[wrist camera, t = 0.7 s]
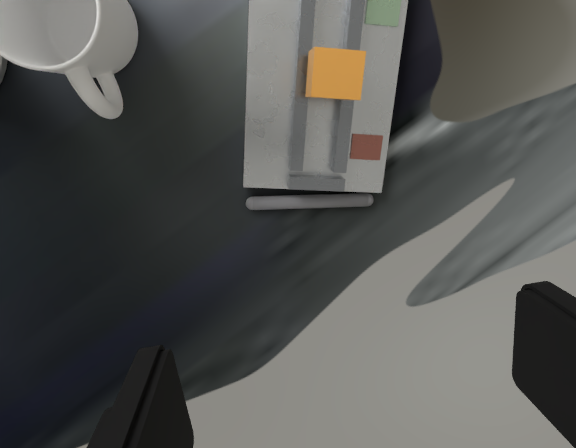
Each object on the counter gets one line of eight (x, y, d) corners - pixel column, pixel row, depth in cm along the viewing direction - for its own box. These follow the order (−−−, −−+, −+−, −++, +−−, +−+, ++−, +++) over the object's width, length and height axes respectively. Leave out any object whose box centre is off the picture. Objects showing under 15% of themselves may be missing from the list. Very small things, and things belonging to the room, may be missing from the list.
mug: (171, 102, 37) (145, 103, 27) (89, 130, 37) (33, 141, 27) (115, -39, 33) (62, -96, 23) (23, -8, 33) (-69, -52, 23)
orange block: (300, 97, 36) (310, 96, 30) (303, 54, 35) (314, 46, 29) (343, 100, 36) (360, 100, 31) (347, 58, 35) (366, 51, 30)
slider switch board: (243, 183, 40) (243, 190, 37) (250, -56, 34) (251, -73, 31) (375, 188, 42) (386, 196, 38) (405, -38, 36) (422, -53, 32)
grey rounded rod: (246, 208, 41) (246, 211, 40) (245, 195, 40) (245, 198, 39) (370, 204, 42) (374, 207, 41) (371, 191, 42) (375, 194, 40)
